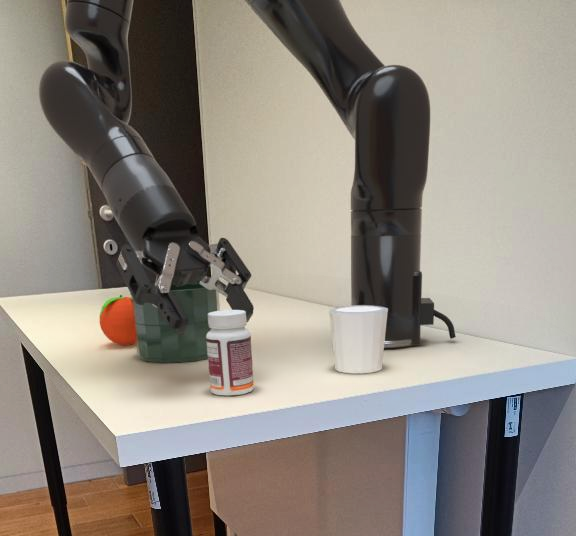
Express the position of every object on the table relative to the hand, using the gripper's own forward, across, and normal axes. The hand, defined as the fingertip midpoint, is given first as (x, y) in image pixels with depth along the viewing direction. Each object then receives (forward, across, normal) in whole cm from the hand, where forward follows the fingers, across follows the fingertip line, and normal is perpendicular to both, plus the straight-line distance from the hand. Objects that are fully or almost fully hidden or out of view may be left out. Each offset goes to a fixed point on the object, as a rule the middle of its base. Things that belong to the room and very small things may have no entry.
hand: (216, 323), depth 80 cm
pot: (-10, +8, +20) cm, 24 cm away
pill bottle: (+6, 0, +4) cm, 8 cm away
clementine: (-18, +7, +29) cm, 35 cm away
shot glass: (+8, +17, +2) cm, 19 cm away
